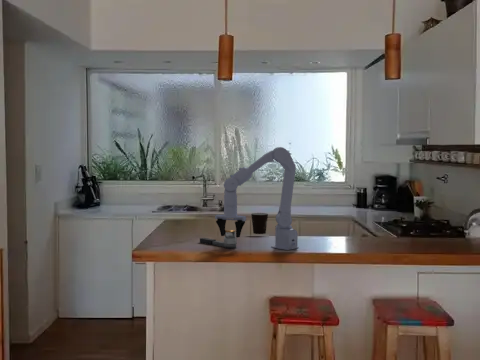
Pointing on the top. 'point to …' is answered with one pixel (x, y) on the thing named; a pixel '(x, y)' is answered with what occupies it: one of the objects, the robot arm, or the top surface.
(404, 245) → the top surface
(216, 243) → the ratchet
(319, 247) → the top surface
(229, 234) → the socket
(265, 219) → the coffee mug
